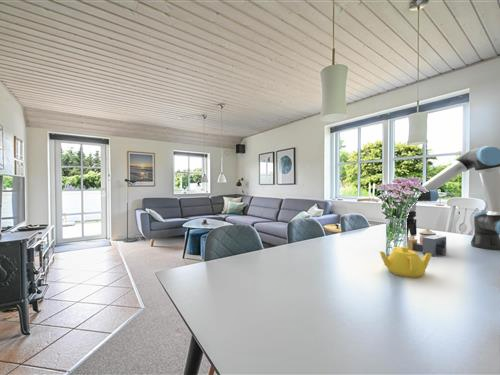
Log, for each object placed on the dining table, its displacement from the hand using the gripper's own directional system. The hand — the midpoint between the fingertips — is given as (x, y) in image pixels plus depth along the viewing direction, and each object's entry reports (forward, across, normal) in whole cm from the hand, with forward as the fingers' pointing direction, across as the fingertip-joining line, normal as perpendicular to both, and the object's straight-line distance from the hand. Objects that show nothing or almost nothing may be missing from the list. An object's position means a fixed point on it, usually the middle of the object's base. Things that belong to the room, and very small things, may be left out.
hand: (409, 246), depth 159 cm
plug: (+1, 0, -8) cm, 8 cm away
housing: (+1, 0, -14) cm, 15 cm away
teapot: (+2, -47, -23) cm, 53 cm away
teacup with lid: (+2, +16, -4) cm, 17 cm away
